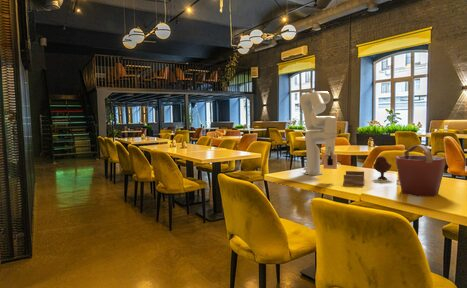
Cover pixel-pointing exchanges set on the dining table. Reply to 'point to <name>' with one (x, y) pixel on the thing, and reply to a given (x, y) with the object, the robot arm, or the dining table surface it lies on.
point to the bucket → (420, 172)
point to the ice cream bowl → (382, 166)
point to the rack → (354, 178)
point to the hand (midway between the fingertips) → (330, 164)
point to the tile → (334, 157)
